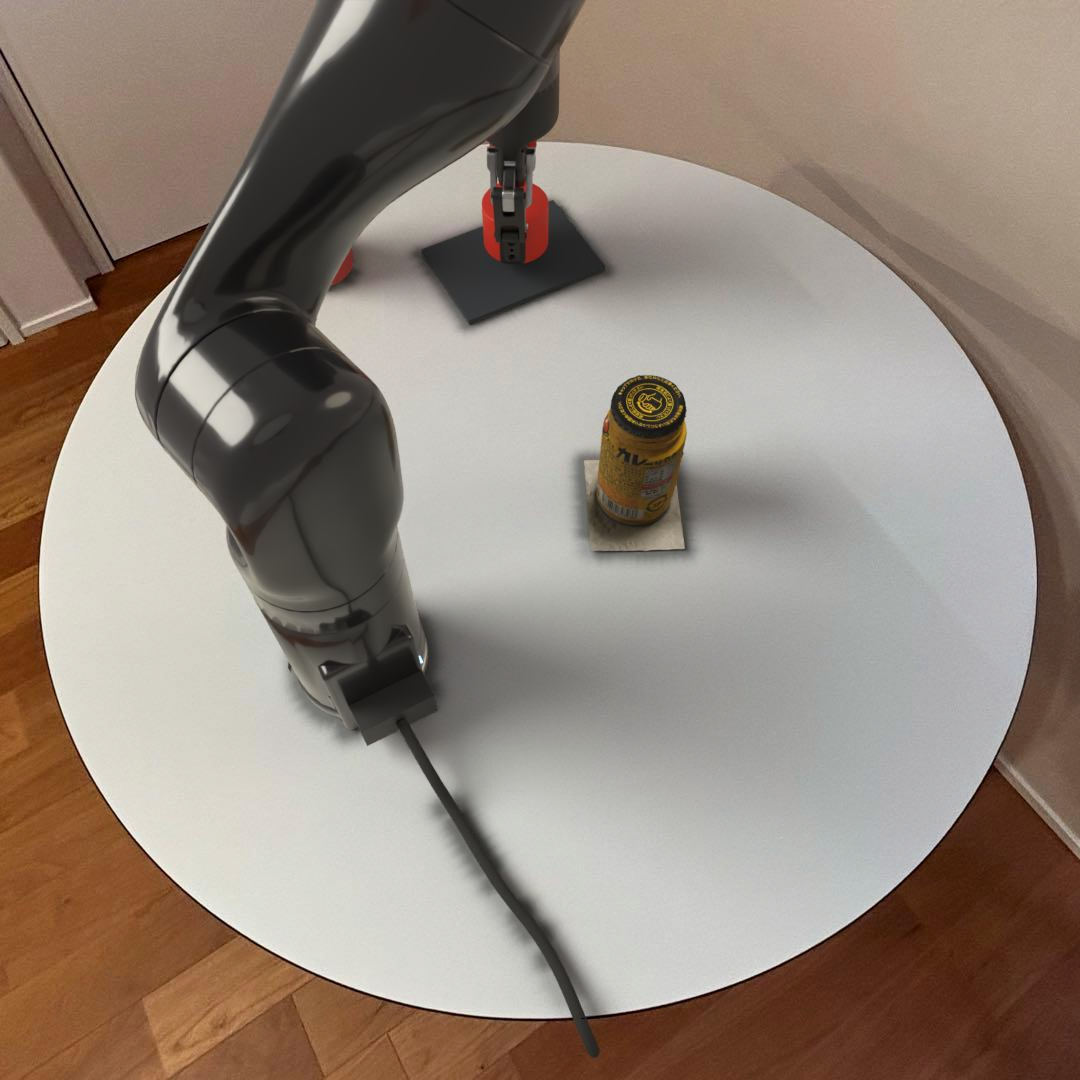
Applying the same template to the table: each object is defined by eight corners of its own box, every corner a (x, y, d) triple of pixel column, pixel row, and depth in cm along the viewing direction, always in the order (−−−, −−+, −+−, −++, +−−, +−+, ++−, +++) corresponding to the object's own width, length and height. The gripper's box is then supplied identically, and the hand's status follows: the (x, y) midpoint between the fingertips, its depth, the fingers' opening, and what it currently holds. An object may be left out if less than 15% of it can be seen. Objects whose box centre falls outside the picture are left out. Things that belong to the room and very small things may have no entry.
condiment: (673, 459, 80) (693, 362, 69) (684, 550, 75) (708, 461, 65) (583, 462, 80) (590, 365, 69) (590, 552, 75) (598, 464, 65)
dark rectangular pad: (605, 270, 90) (605, 265, 90) (469, 325, 87) (468, 320, 86) (553, 204, 95) (553, 199, 94) (421, 253, 91) (420, 249, 91)
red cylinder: (559, 250, 88) (560, 204, 83) (502, 272, 86) (500, 227, 82) (529, 211, 90) (528, 164, 86) (473, 231, 89) (469, 185, 85)
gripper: (557, 126, 70) (554, 295, 84) (561, 6, 77) (558, 181, 91) (452, 124, 70) (467, 293, 84) (466, 4, 77) (477, 179, 92)
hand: (514, 234), depth 88 cm, fingers closed on red cylinder, 6 cm apart
